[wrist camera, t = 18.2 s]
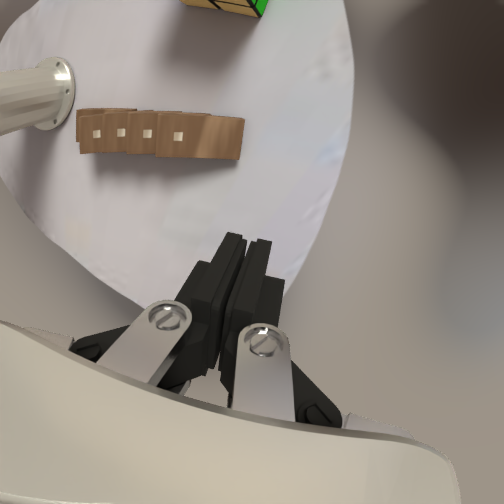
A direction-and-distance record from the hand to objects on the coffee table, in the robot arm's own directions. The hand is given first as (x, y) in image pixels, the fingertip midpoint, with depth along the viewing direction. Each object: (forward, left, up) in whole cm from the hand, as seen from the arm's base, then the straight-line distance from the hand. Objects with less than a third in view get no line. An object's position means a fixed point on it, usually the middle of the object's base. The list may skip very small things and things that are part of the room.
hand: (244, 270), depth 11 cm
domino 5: (-6, 0, -26) cm, 27 cm away
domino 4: (-10, 0, -26) cm, 28 cm away
